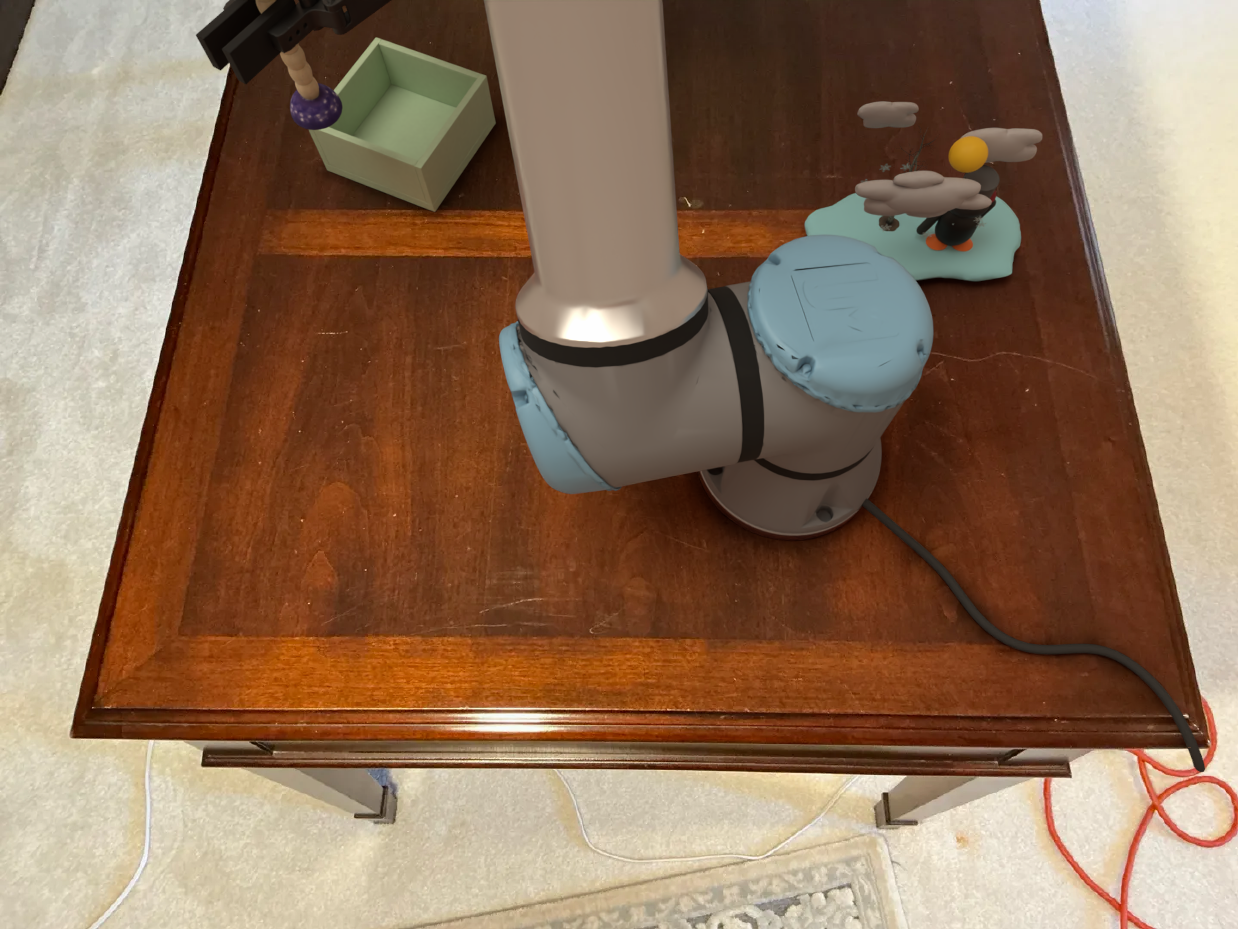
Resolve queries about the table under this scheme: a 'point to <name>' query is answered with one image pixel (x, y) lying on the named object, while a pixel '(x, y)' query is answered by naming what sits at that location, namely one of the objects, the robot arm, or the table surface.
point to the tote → (406, 123)
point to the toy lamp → (307, 89)
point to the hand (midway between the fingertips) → (221, 59)
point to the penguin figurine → (936, 205)
